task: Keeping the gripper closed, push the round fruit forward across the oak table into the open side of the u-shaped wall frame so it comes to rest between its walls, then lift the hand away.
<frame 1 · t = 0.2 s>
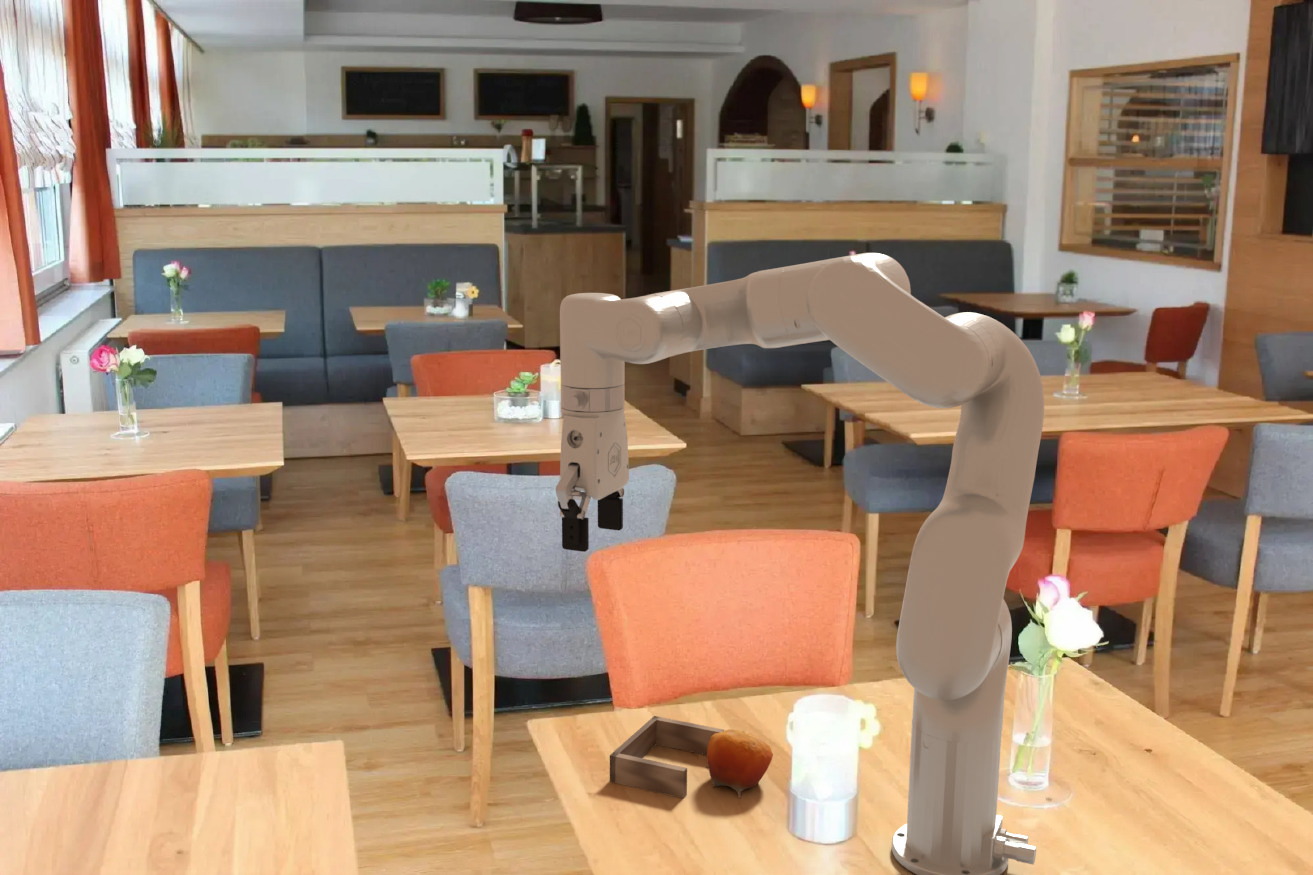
hand: (593, 539, 155), 31 cm above the table, tool pointing down, fingers open, 9 cm apart
u-shaped wall frame: (668, 767, 163), on the table
fruit: (737, 785, 159), on the table
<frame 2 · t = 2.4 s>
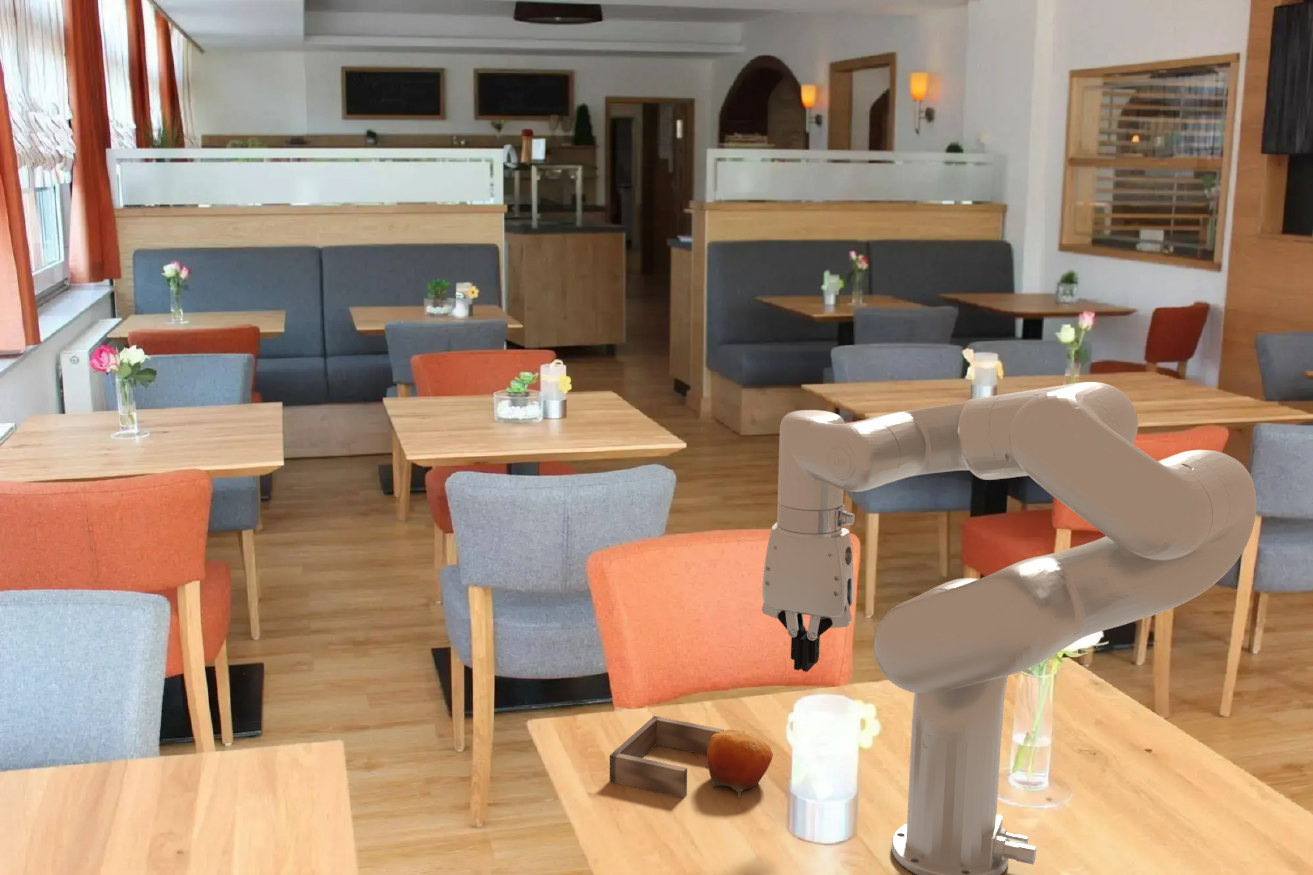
hand: (804, 666, 153), 17 cm above the table, tool pointing down, fingers closed
nothing on the table moved.
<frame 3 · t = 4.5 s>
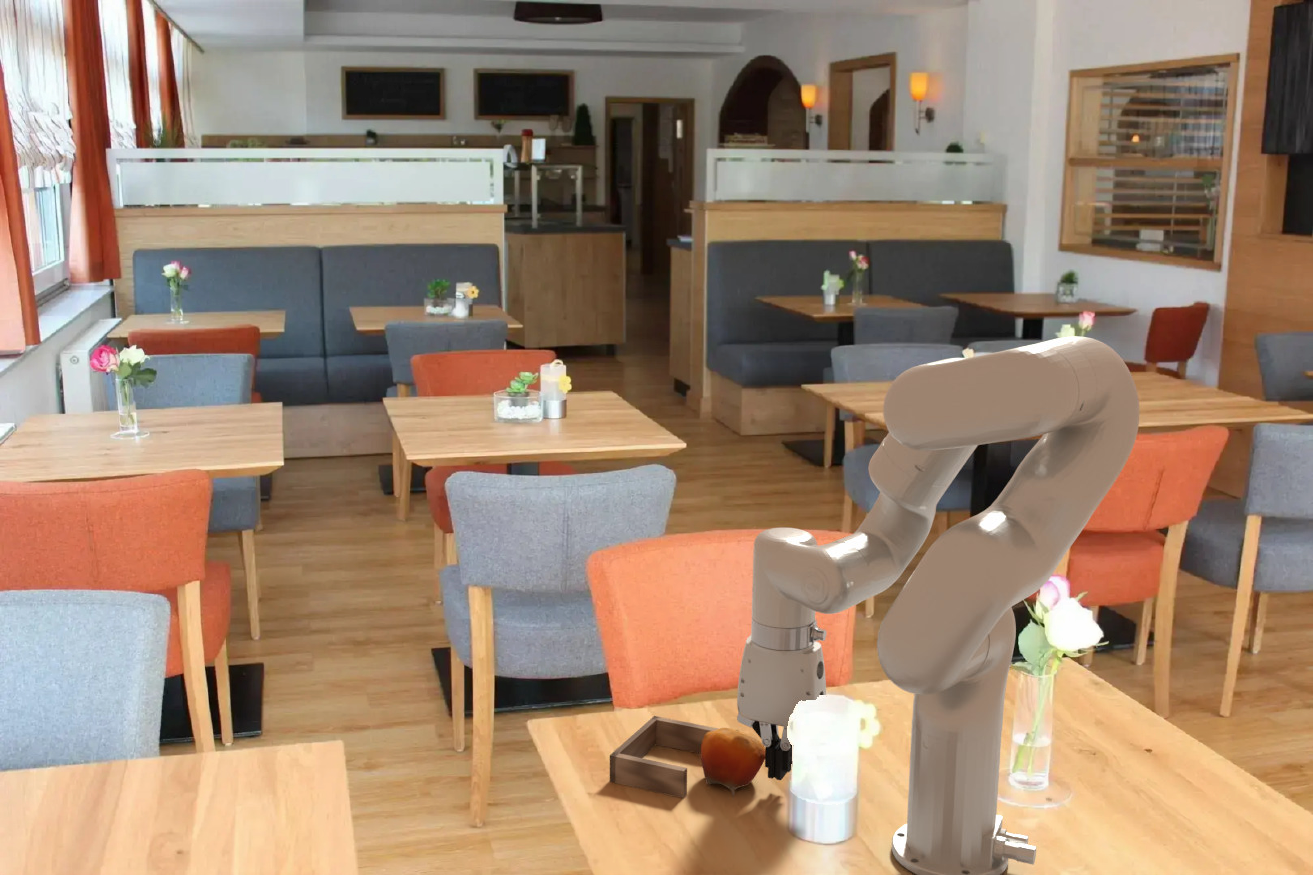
hand: (778, 774, 157), 2 cm above the table, tool pointing down, fingers closed
fruit: (731, 783, 160), on the table, touching gripper
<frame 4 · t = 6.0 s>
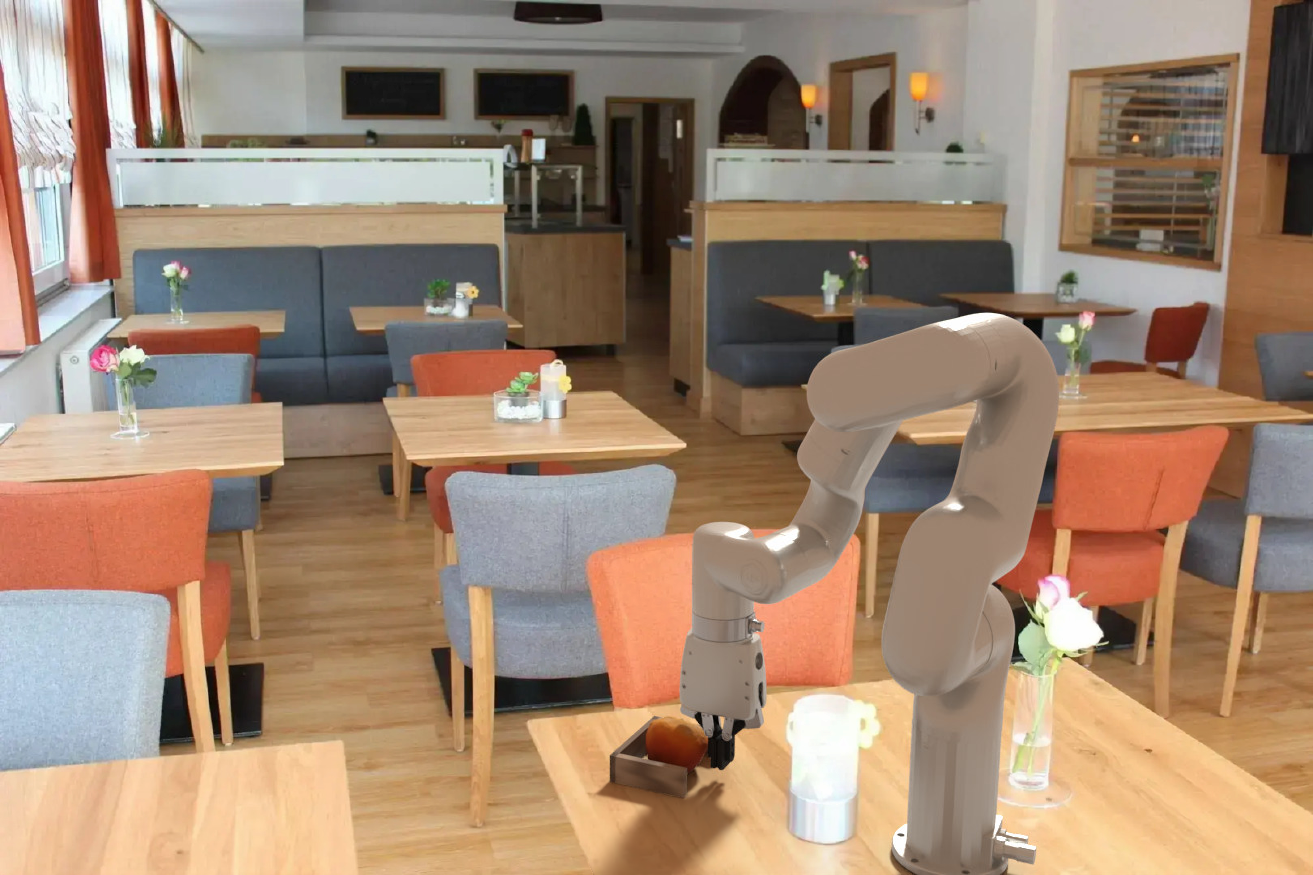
hand: (721, 764, 160), 2 cm above the table, tool pointing down, fingers closed
fruit: (675, 770, 163), on the table, touching gripper
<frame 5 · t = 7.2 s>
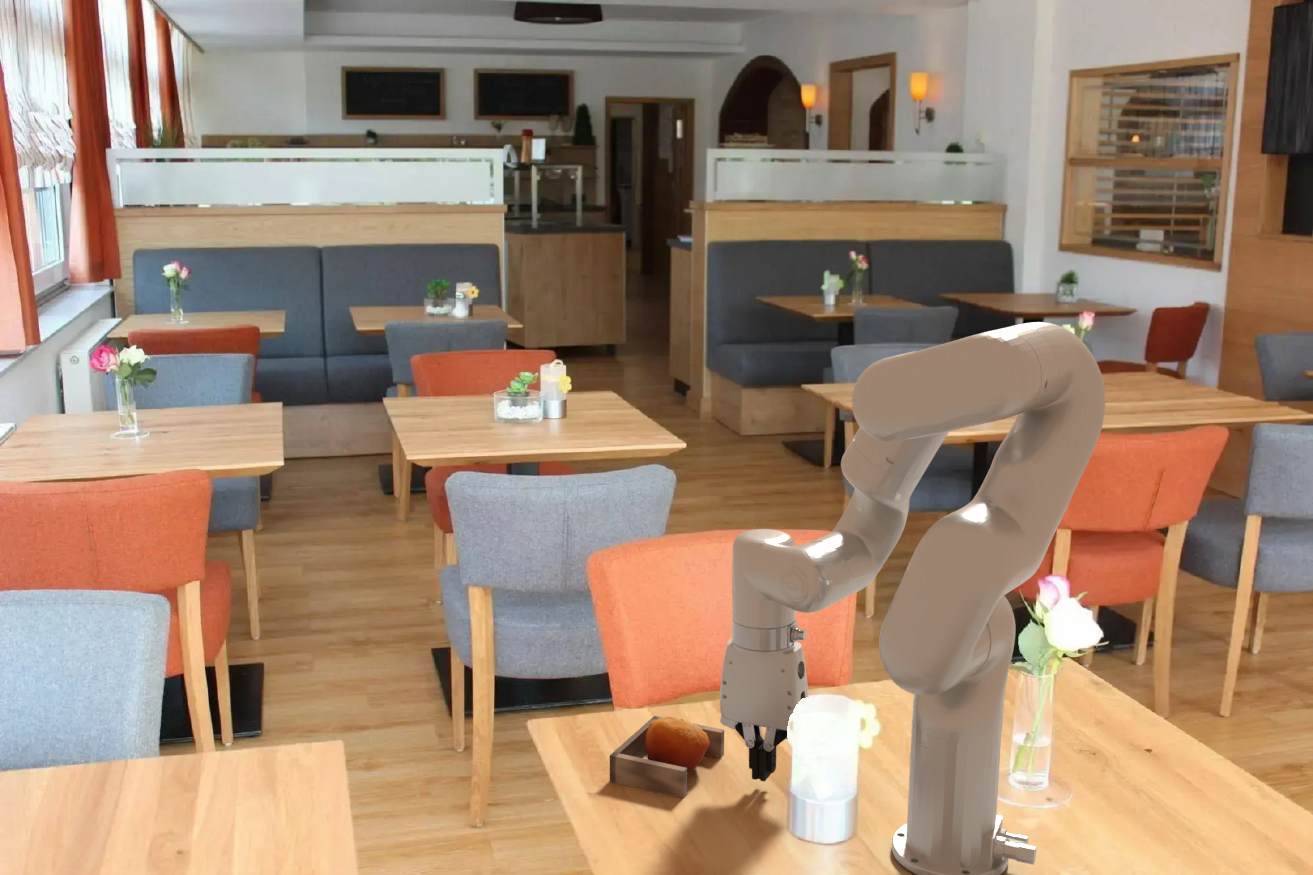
hand: (762, 775, 158), 2 cm above the table, tool pointing down, fingers closed
fruit: (675, 771, 163), on the table
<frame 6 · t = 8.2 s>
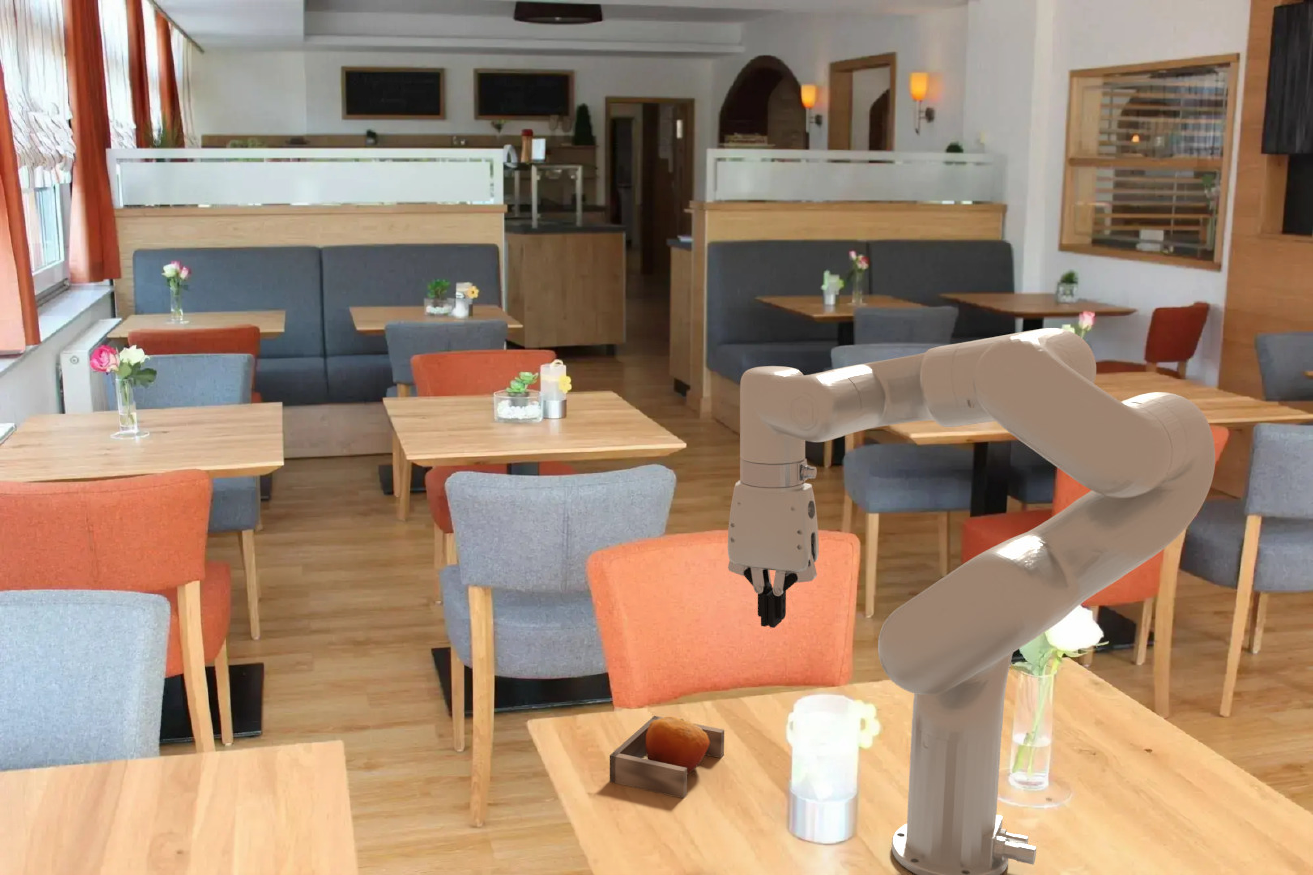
hand: (771, 623, 153), 21 cm above the table, tool pointing down, fingers closed
nothing on the table moved.
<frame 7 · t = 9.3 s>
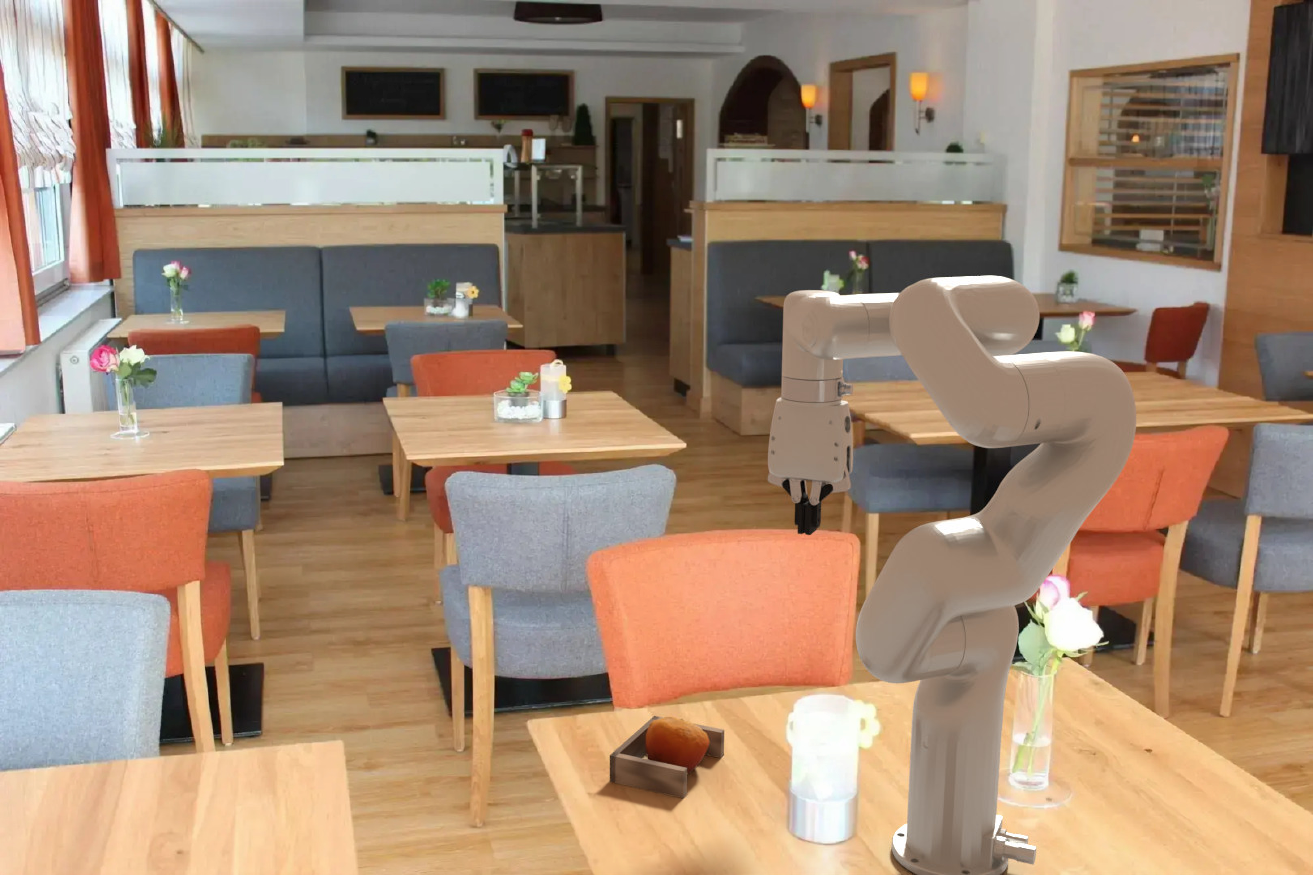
hand: (807, 531, 164), 29 cm above the table, tool pointing down, fingers closed
nothing on the table moved.
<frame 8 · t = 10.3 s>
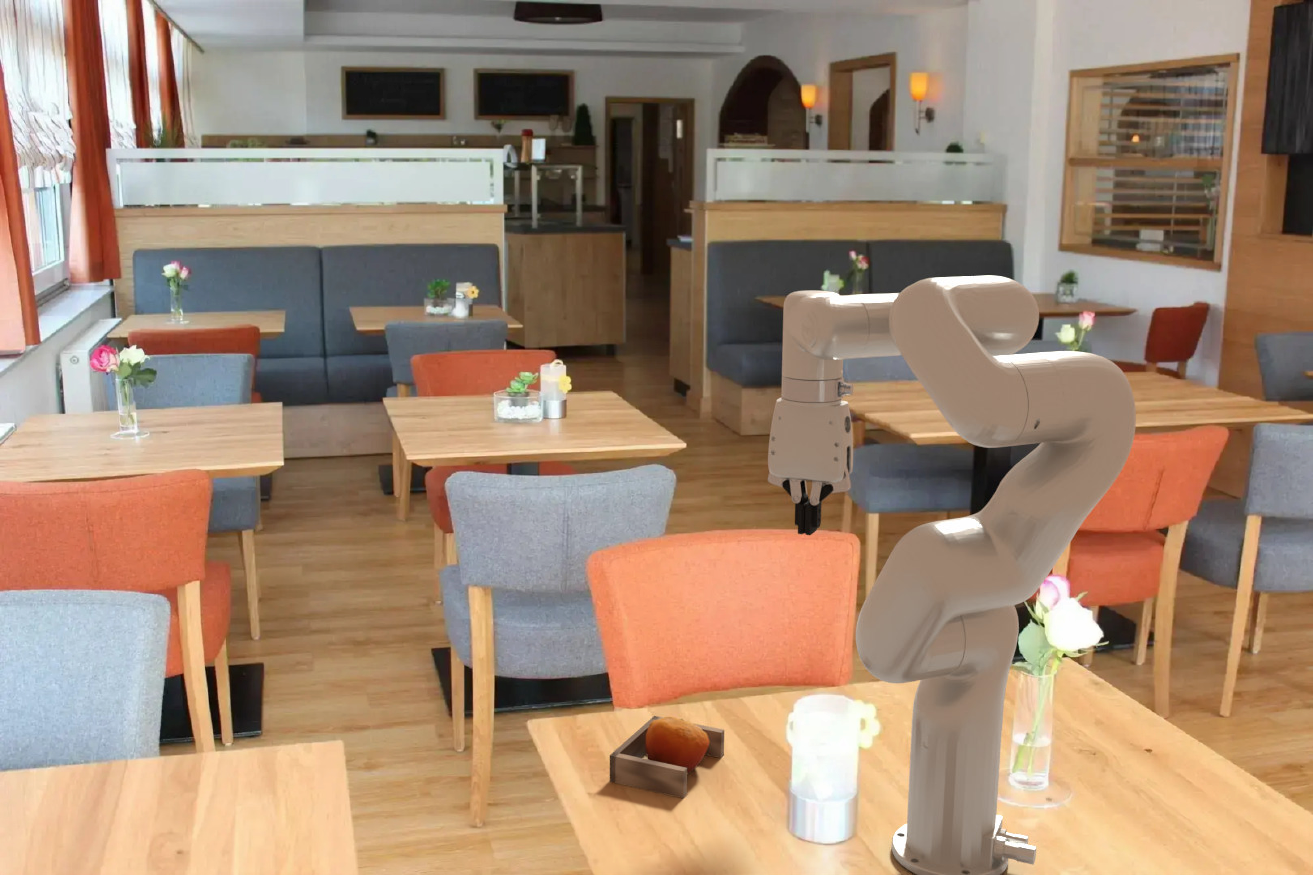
hand: (807, 531, 164), 29 cm above the table, tool pointing down, fingers closed
nothing on the table moved.
at the end: fruit inside the target area on the u-shaped wall frame (0.8 cm from its centre), point 0.0 cm above the u-shaped wall frame's base; fruit moved 8.5 cm from its start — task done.
